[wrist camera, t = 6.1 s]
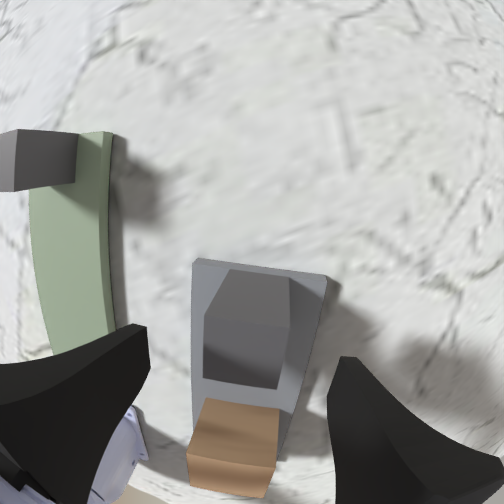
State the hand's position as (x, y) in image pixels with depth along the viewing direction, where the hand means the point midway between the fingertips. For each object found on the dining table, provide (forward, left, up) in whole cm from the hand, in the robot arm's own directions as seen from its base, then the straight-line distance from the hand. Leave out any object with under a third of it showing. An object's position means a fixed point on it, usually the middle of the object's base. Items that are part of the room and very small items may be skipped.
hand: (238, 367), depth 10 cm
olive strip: (0, +13, -7) cm, 14 cm away
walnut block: (-10, 0, -5) cm, 12 cm away
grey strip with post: (-7, 0, -7) cm, 10 cm away
